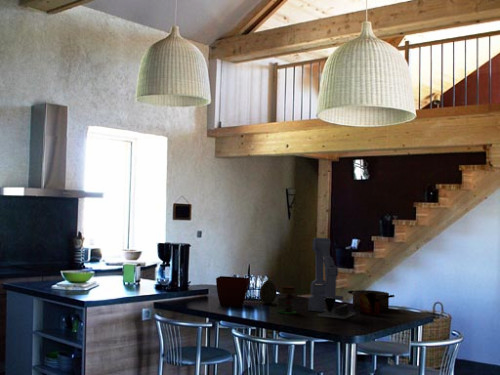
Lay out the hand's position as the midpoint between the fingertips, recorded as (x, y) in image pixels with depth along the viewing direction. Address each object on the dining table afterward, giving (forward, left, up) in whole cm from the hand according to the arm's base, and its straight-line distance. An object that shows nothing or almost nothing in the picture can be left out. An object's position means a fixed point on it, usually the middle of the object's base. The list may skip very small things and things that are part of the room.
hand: (329, 311), depth 365 cm
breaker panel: (+2, +7, -3) cm, 8 cm away
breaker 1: (+5, +7, -1) cm, 9 cm away
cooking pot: (+12, +47, -3) cm, 48 cm away
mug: (+17, +25, -3) cm, 31 cm away
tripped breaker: (+5, 0, -1) cm, 5 cm away
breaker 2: (+5, +14, -1) cm, 15 cm away
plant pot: (-64, +2, -3) cm, 64 cm away
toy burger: (-25, -3, -3) cm, 25 cm away
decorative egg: (-50, +25, -3) cm, 56 cm away
